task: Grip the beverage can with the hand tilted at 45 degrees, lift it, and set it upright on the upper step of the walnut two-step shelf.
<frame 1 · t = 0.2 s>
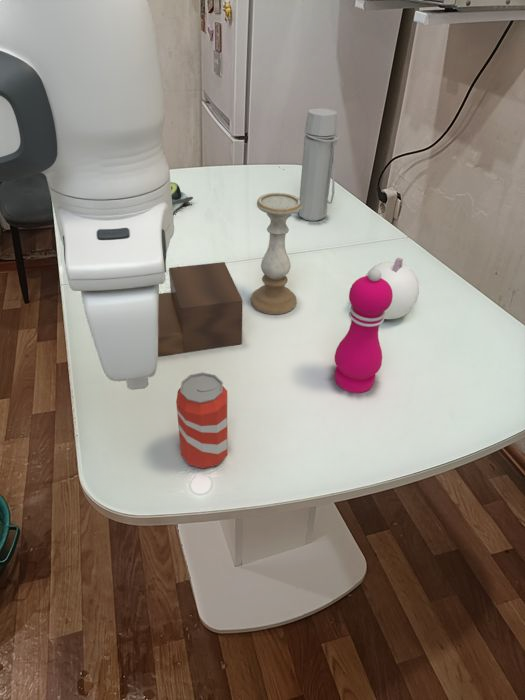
hand: (136, 350, 49), 23 cm above the table, tool pointing down, fingers open, 8 cm apart
water bottle: (314, 218, 130), on the table
pepper mill: (353, 380, 82), on the table
beverage can: (204, 453, 69), on the table
step shelf: (183, 329, 90), on the table
ornament: (384, 314, 97), on the table
candle holder: (273, 303, 98), on the table
avocado toast plate: (154, 205, 133), on the table
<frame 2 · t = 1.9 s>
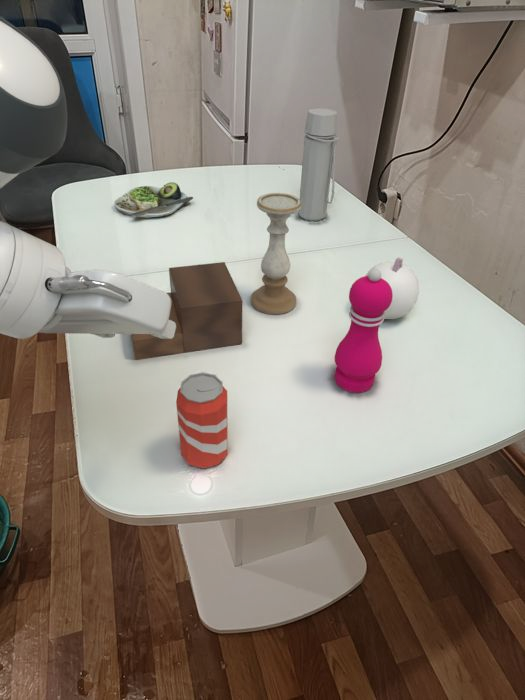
hand: (139, 331, 55), 21 cm above the table, tool tilted 50°, fingers open, 8 cm apart
nothing on the table moved.
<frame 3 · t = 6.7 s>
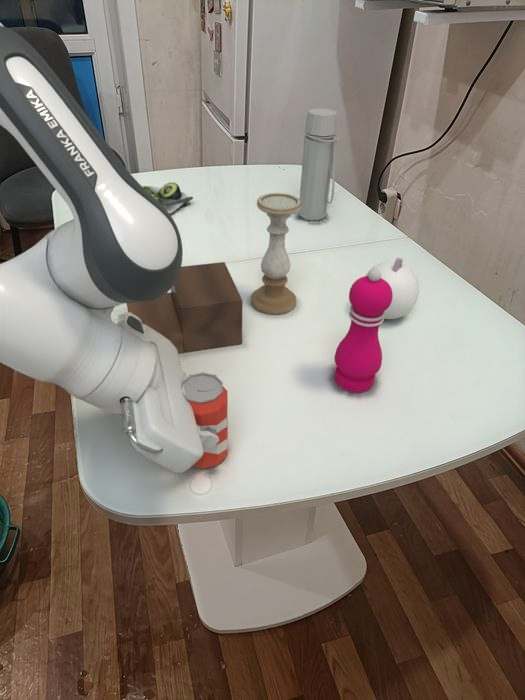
hand: (208, 418, 65), 6 cm above the table, tool tilted 45°, fingers closed on beverage can, 6 cm apart
beverage can: (205, 453, 69), on the table, touching gripper
everything else where it was.
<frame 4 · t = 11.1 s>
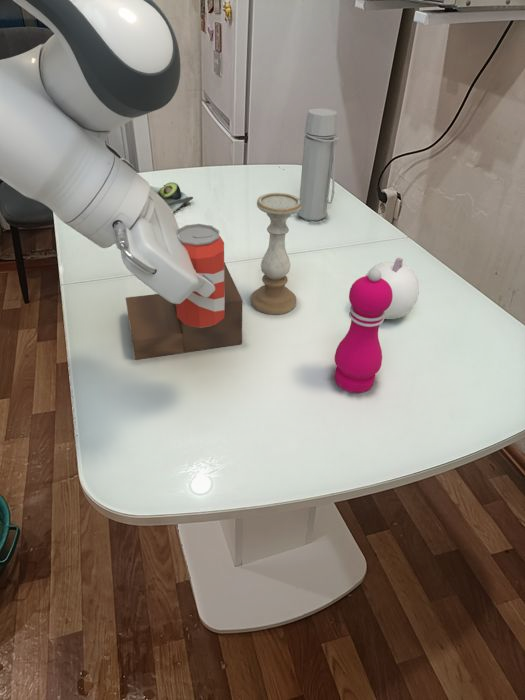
hand: (204, 274, 63), 21 cm above the table, tool tilted 45°, fingers closed on beverage can, 6 cm apart
beverage can: (201, 318, 67), point 15 cm above the table, touching gripper
everything else where it was.
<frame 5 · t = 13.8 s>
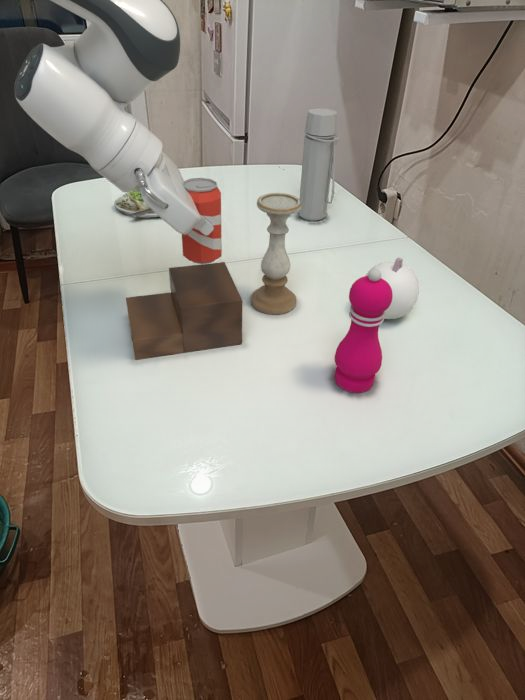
hand: (204, 219, 79), 20 cm above the table, tool tilted 45°, fingers closed on beverage can, 6 cm apart
beverage can: (202, 258, 83), point 14 cm above the table, touching gripper
everything else where it was.
when the fingers open (15 cm above the table, at t = 15.8 s): beverage can stays where it is, resting on step shelf.
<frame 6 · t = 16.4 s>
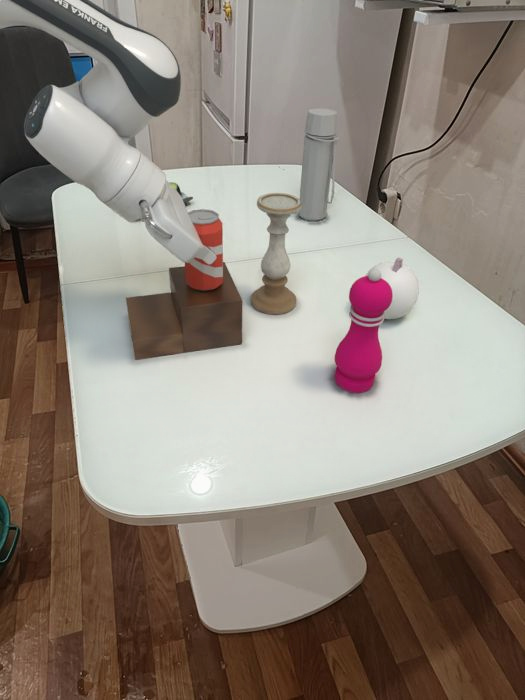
hand: (206, 245, 81), 16 cm above the table, tool tilted 45°, fingers open, 8 cm apart
beverage can: (204, 284, 86), point 9 cm above the table, touching step shelf
everything else where it was.
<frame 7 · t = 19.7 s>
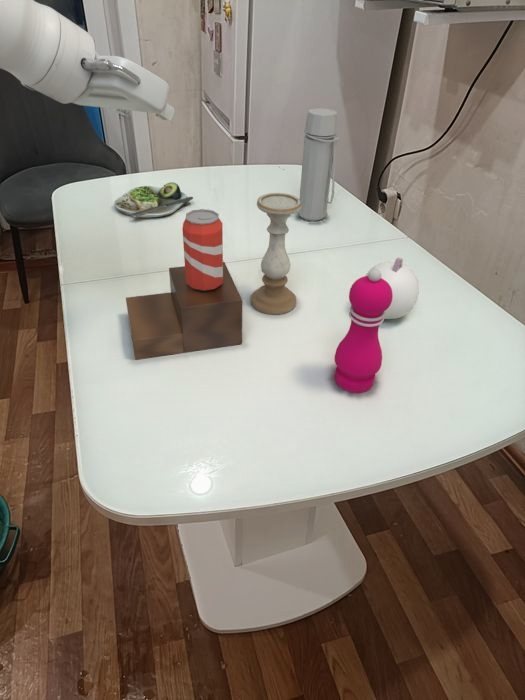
hand: (148, 112, 73), 35 cm above the table, tool tilted 55°, fingers open, 8 cm apart
nothing on the table moved.
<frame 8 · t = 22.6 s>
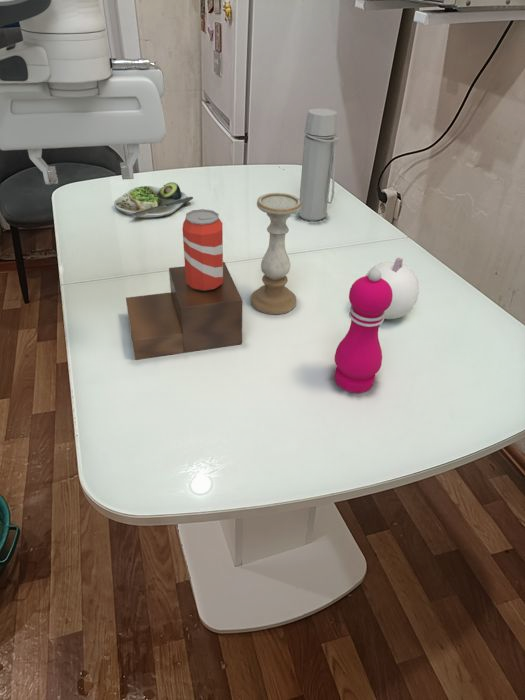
hand: (90, 180, 66), 29 cm above the table, tool pointing down, fingers open, 8 cm apart
nothing on the table moved.
at the end: beverage can inside the target area on the step shelf (0.3 cm from its centre), point 8.8 cm above the step shelf's base; beverage can tilted 0°; the gripper is holding nothing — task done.
